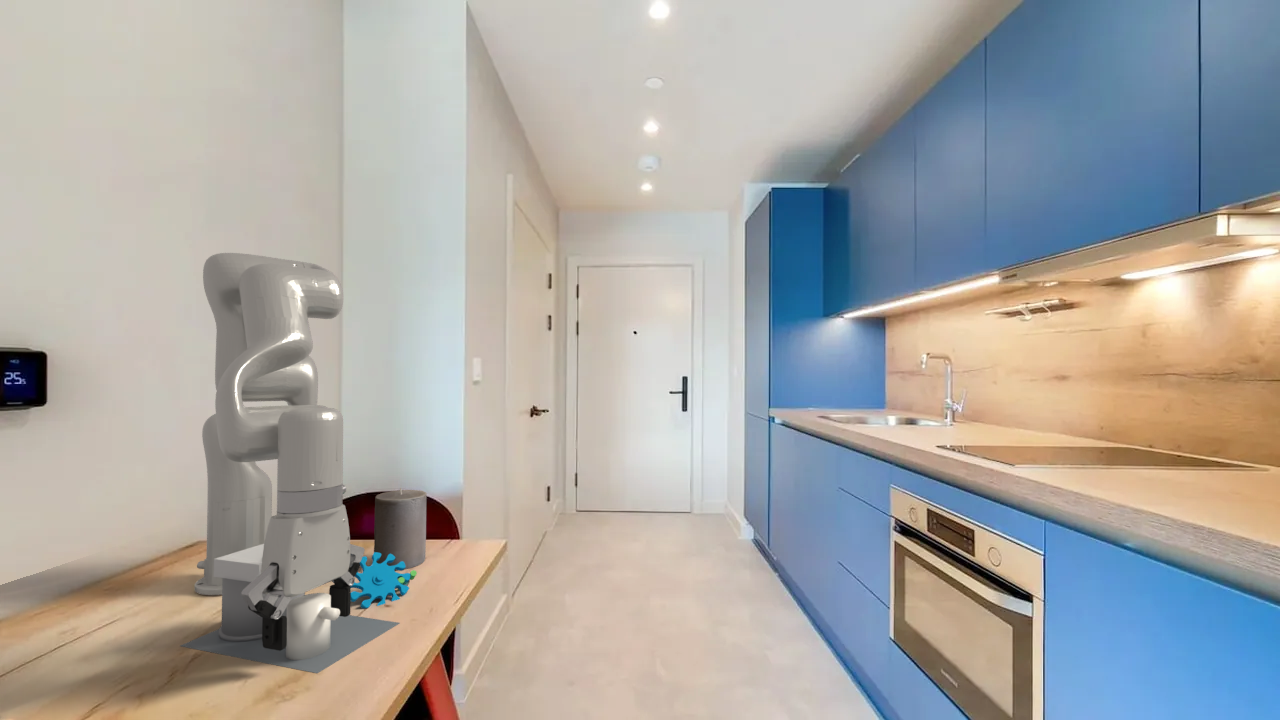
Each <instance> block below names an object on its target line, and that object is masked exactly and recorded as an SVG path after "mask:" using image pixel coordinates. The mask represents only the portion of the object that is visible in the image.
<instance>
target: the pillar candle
mask: <svg viewBox="0 0 1280 720" xmlns="http://www.w3.org/2000/svg"><path fill="white" fill-rule="evenodd" d="M427 494H428V493H427V492H426V491H424V490H421V489H419V490H418V489H402V487H399V490H391V491H386V492H382V493H380V494H379V493H378V494H377V495H375V498H374V527H373V528H374V529H373V530H374V533H373V534H374V543H373V553H374V552H378V553H381V557H380V559H379V560H378V561H376V562H377V563H378V564H381V563H383V562H384V561H385V560H386V558H387V556H388V555H389V554H392V555H394V556H395V559H394V561H393V562H392V563H387V565H388V566H394V565H397V564H398V563H399V562H401V561H404V563H405V566H406V567H405V569H404V570H407V569H411V568H416V567H418V566H420V565H421V563H422V564H423V563H424V562H425V559H426V552H427V551H426V550H427V549H426V547H427V546H426V545H427V544H426V543H427V497H428V496H427ZM394 571H395V572H396V570H394Z"/></svg>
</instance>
